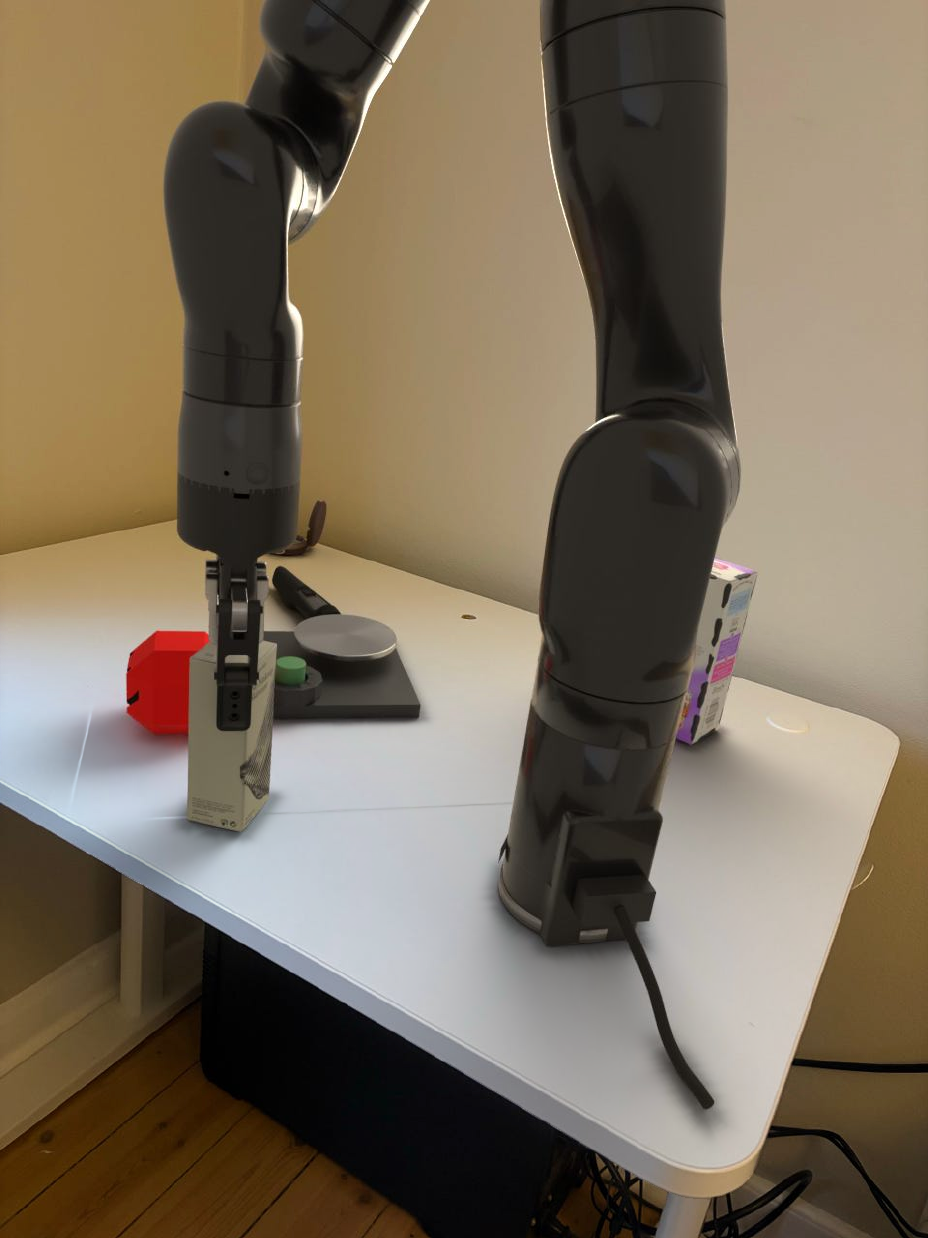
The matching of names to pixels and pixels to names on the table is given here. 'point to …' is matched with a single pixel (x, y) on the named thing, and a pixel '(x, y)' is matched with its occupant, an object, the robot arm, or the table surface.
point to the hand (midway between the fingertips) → (232, 703)
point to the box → (228, 745)
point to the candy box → (716, 648)
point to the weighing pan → (345, 637)
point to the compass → (309, 531)
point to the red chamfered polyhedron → (162, 680)
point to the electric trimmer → (300, 595)
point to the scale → (343, 686)
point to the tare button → (290, 670)
